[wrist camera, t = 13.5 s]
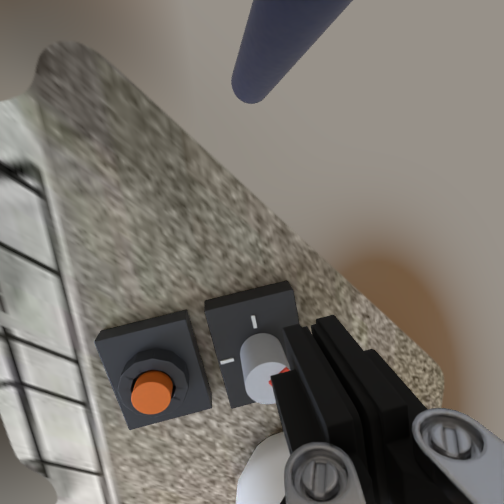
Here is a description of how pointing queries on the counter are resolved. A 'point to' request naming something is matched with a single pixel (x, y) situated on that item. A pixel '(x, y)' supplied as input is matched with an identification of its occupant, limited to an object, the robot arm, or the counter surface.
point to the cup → (264, 473)
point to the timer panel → (247, 328)
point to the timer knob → (262, 366)
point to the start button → (152, 392)
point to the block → (155, 365)
